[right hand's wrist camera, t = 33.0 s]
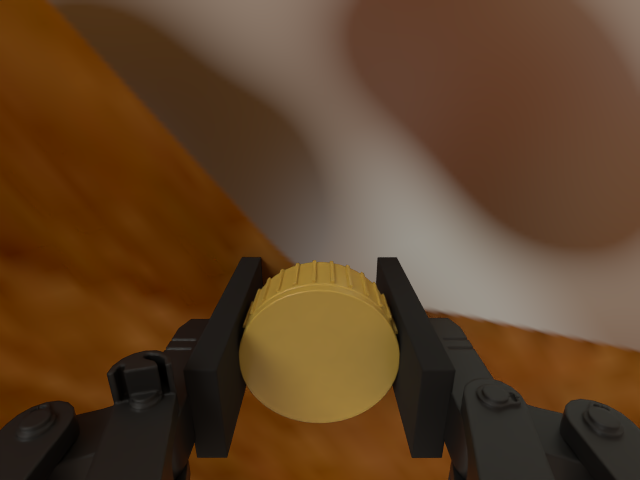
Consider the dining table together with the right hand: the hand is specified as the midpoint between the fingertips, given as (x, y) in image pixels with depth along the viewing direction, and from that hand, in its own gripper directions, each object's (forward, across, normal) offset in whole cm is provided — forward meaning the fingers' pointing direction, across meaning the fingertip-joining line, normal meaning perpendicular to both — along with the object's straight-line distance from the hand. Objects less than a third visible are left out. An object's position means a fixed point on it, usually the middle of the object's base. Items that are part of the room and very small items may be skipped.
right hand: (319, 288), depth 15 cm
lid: (-4, 0, 0) cm, 4 cm away
